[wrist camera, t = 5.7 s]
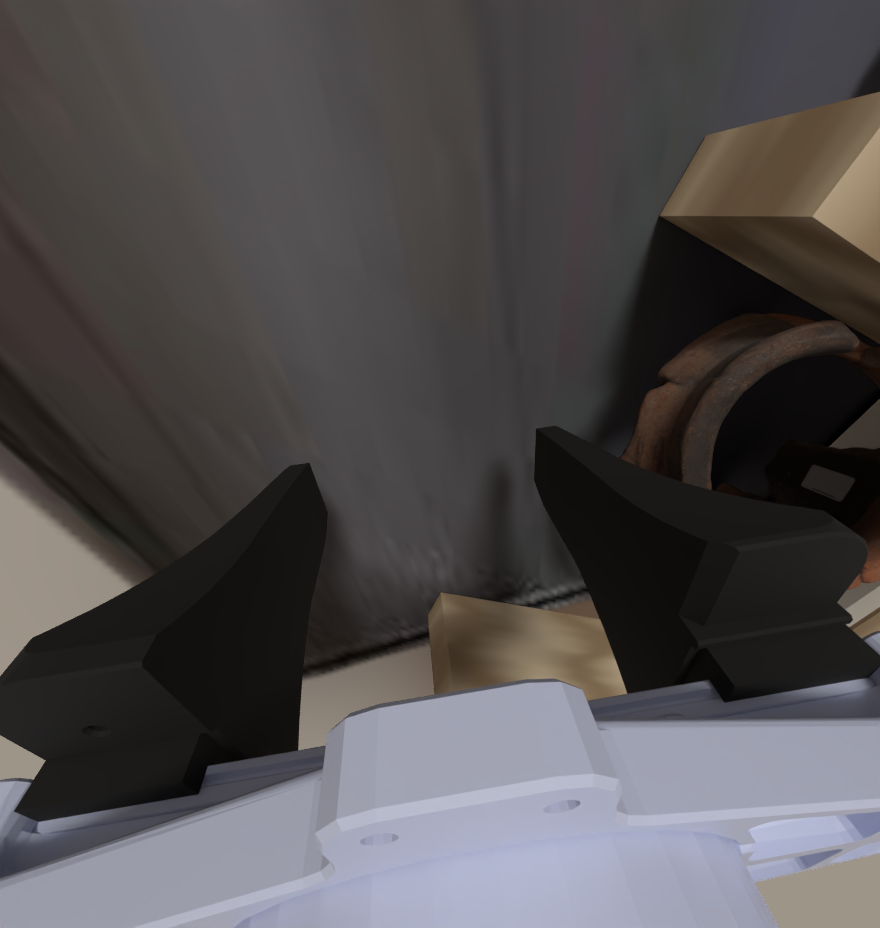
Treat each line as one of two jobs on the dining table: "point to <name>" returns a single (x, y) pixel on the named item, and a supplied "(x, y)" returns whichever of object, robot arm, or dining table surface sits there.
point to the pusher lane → (766, 252)
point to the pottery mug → (795, 464)
